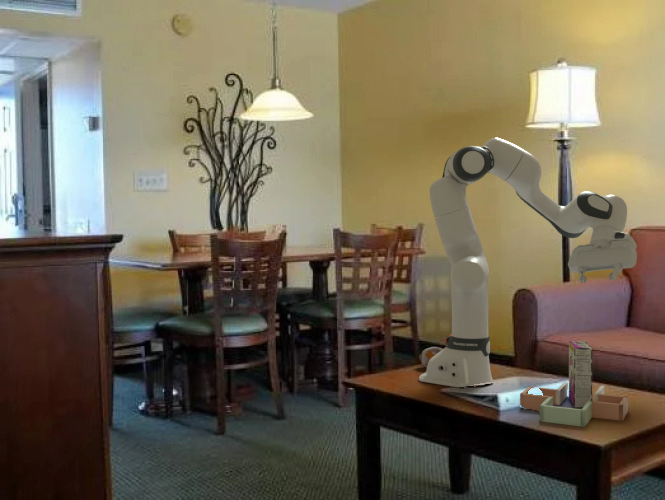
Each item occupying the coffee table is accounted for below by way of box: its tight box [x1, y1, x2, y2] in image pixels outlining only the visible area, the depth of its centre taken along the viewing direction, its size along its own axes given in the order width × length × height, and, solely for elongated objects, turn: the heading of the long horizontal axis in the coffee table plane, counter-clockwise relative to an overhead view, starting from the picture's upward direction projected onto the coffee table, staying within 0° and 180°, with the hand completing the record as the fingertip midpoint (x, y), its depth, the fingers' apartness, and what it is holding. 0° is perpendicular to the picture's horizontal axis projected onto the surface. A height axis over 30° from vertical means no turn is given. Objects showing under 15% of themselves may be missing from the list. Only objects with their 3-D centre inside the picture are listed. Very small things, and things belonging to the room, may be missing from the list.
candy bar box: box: [568, 340, 593, 409], centre depth 217 cm, size 11×5×16 cm, turn 171°
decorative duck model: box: [418, 346, 444, 369], centre depth 264 cm, size 15×8×15 cm
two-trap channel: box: [519, 381, 629, 428], centre depth 210 cm, size 26×30×4 cm
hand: (597, 280), depth 234 cm, fingers open, 8 cm apart
